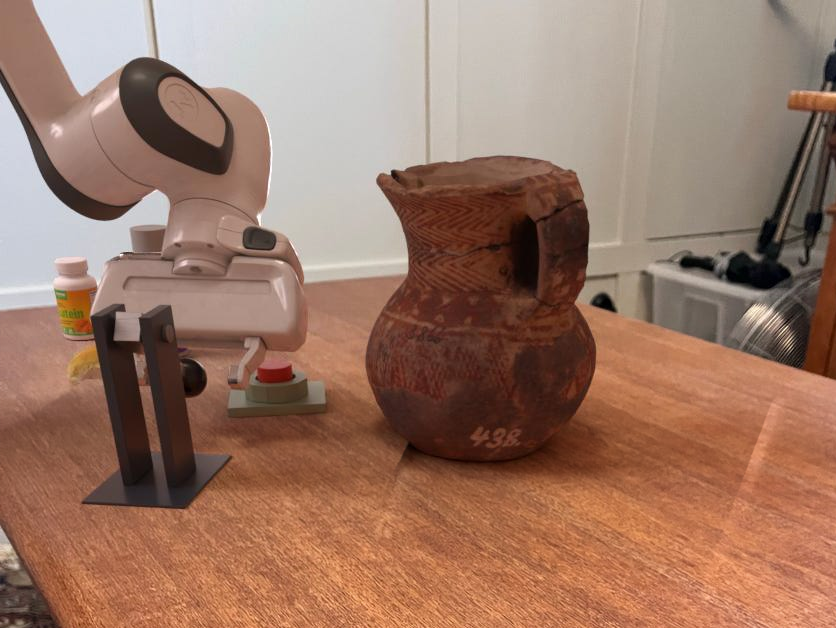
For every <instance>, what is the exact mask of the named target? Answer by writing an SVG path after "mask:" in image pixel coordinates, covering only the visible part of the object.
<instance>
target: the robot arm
mask: <svg viewBox="0 0 836 628" xmlns="http://www.w3.org/2000/svg"><path fill="white" fill-rule="evenodd" d="M0 86H1V88H2V89H3V91H4V93H5V94H6V97H7V98H8V100H9V102H10V104H11V106H12V107H13V109H14V111H15V113H16V115H17V117H18V119H19V121H20V123H21V125H22V127H23V130H24V132H25V135H26V137H27V140H28V143H29V146H30V149H31V152H32V155H33V158H34V161H35V163H36V166H37V169H38V170H39V173H40V175H41V177H42V178H43V181H44V183H45V184H46V185H47V188H48V189H49V191H50V192H52V194H53V195H54V196H55V197H56V198H57V199H58V200H59V201H60V202H61V203H63V205H65V206H66V207H68V208H69V209H70V210H72V211H73V212H75V213H77V214H79V215H81V216H83V217H85V218H88V219H91V220H94V221H99V222H100V221H101V222H111V221H115V220H117V219H119V218H121V217H123V216H124V215H125V214H127V213H128V212H129V211H130V210H132V209H133V208H134V207H136V206H137V205H138V204H139V203H140V202H142V201H143V200H144V199H145V198H146V197H148V196H151V194H153V193H155V192H157V191H158V192H160V193H162V194H163V195H164V196H165V197H166V198H167V199H168V201H169V208H168V215H167V219H166V224H165V225H166V230H165V235H164V241H163V246H162V252H146V253H134V252H133V251H122V252H120V253H119V255H117V256H114V257H112V258H110V259H109V260H107V261H105V262H104V264H103V267H102V272H101V277H100V282H99V284H98V286H97V287H98V289H97V292H96V295H95V298H94V301H93V305H92V308H91V312H90V316H92V315H93V314H95V313H97V312H99V311H101V310H103V309H104V308H106V307H108V306H110V305H112V304H114V303H115V304H125V309H126V312H142V313H143V314H145V313H147V312H149V311H150V310H152V309H154V308H155V307H157V306H159V305H171V308H172V314H173V321H174V327H175V333H176V340H177V346H178V348H187V349H201V350H203V349H205V350H206V349H207V350H208V349H209V350H231V351H232V350H233V351H246V353H245V354H244V356H243V357H242V359H241V360H240V361H239V362H238V364H229V366H228V373H229V374H228V375H227V380H226V381H227V385H228V386H229V387H230V388H231V389H232V390H248V387H249V381H250V375H252V374H253V373H254V372H255V371H257V368H258V367H259V366H260V365H261V364H262V362H263V361H266V354H267V352H285V353H286V352H287V353H295V352H298V350H300V349H301V348H302V347H303V346H304V345H305V343H306V341H307V335H308V319H309V317H308V315H309V314H308V311H309V310H308V308H309V307H308V300H307V297H306V295H305V292H304V290H303V287H304V283H305V274H304V270H303V266H302V262H301V259H300V258H299V255H298V253H297V251H296V249H295V247H294V246H293V243H292V242H291V241H290V239H289V237H288V236H287V235H285V234H283V233H281V232H279V231H276V230H273V229H269V228H266V227H264V226H262V225H261V217H262V214H263V212H264V210H265V209H266V206H267V203H268V198H269V192H270V187H271V186H270V185H271V179H272V178H271V177H272V165H273V148H272V147H273V144H272V138H271V131H270V127H269V124H268V121H267V118H266V117H265V114H264V113H263V111H262V110H261V109H260V108H259V106H258V105H257V104H256V103H254V101H253V100H251V99H250V98H249V97H247V96H246V95H245V94H243V93H241V92H239V91H237V90H234V89H231V88H228V87H221V86H216V87H205V86H201V85H199V84H198V83H197V82H195V81H194V80H193V79H192V78H191V77H189V76H188V75H187V74H186V73H184V72H183V71H181V69H178V68H177V67H176V66H174V65H172V64H170V63H168V62H166V61H164V60H162V59H158V58H154V57H152V56H151V57H150V56H141V57H137V58H133V59H132V60H130V61H129V62H127V63H126V64H124V65H122V66H120V67H119V68H118V69H117V70H115V71H114V72H112V73H111V74H110V75H108V76H107V77H106V78H104V79H103V80H101V81H100V82H98V84H97V85H96V86H95V87H94V88H92V89H90V90H89V91H88V92H87V93H84V95H81V93H79V91H78V90H77V88H76V86H75V85H74V82H73V81H72V79H71V77H70V74H69V73H68V71H67V69H66V67H65V65H64V63H63V61H62V59H61V57H60V55H59V53H58V51H57V49H56V47H55V45H54V43H53V41H52V39H51V38H50V35H49V34H48V31H47V30H46V28H45V25H44V24H43V22H42V20H41V17H40V16H39V14H38V11H37V10H36V7H35V4H34V1H33V0H0ZM90 322H91V318H90ZM133 354H134V360H135V365H136V371H137V377H138V382H139V387H150V382H149V376H148V370H147V365H146V361H143V359H142V357H141V356H145V353H133ZM141 359H142V360H141ZM142 361H143V362H142Z"/></svg>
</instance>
